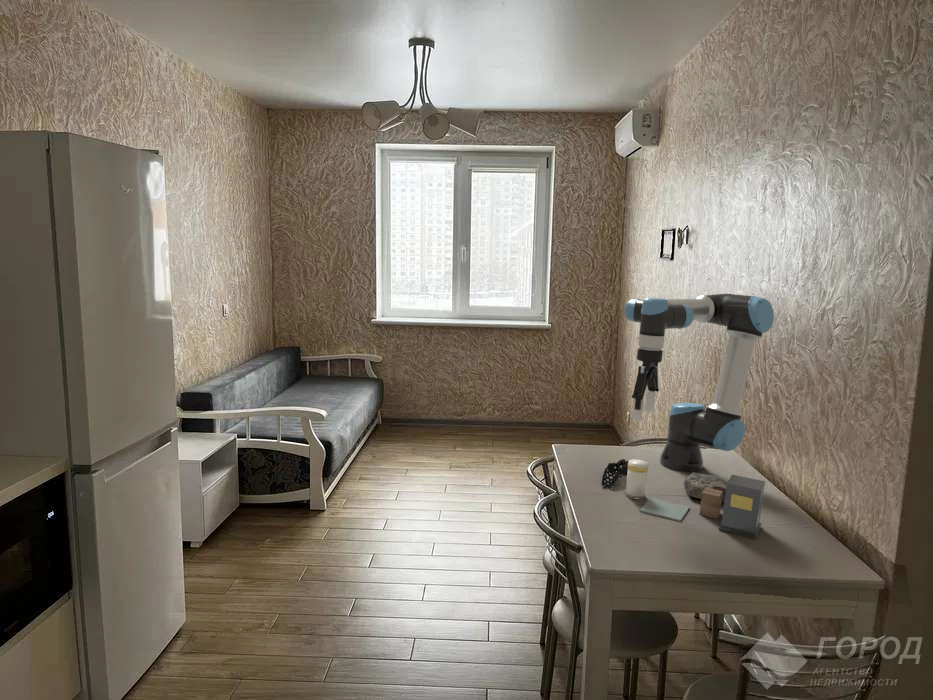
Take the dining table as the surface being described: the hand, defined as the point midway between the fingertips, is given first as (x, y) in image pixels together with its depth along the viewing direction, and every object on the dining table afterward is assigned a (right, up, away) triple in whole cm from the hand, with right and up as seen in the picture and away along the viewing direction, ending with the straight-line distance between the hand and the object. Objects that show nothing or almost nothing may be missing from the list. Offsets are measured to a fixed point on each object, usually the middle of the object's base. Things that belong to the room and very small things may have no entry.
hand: (643, 415), depth 210 cm
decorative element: (-5, -24, +19) cm, 31 cm away
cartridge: (-2, -26, +4) cm, 27 cm away
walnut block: (+18, -29, -7) cm, 35 cm away
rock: (+22, -27, +8) cm, 36 cm away
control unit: (+23, -31, -17) cm, 42 cm away
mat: (+5, -28, -6) cm, 29 cm away
